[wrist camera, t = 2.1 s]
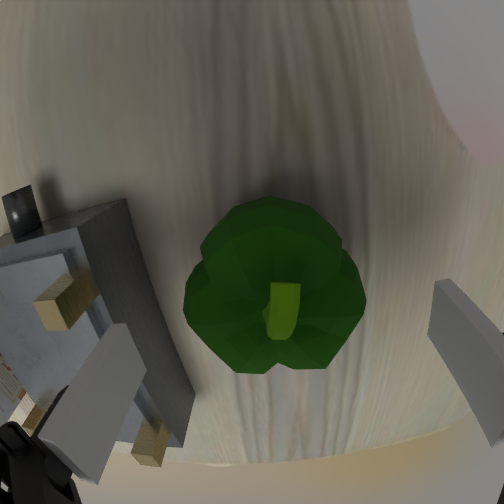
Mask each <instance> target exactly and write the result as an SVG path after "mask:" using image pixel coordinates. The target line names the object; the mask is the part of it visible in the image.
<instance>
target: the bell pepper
mask: <svg viewBox="0 0 504 504" xmlns="http://www.w3.org/2000/svg"><path fill="white" fill-rule="evenodd" d="M200 249H201V253H202V257H203V260H202V261H201V262H199V263H198V264H197V265H196V266H195V268H194V269H193V271H192V273H191V275H190V277H189V278H188V280H187V282H186V287H185V296H184V306H183V312H184V315H185V318H186V320H187V323H188V325H189V326H190V327H191V328H192V329H193V331H194V332H195V333H196V334H197V335H198V336H199V337H200V338H201V340H202V341H203V342H204V343H205V344H206V345H207V346H208V347H209V348H210V349H211V350H212V351H213V352H214V353H215V354H216V355H217V356H218V357H219V358H220V359H222V360H223V361H224V362H225V363H226V364H227V365H228V366H229V367H230V368H231V369H232V370H233V371H235V372H236V373H251V374H264V373H265V372H267V371H268V370H269V369H270V368H272V367H273V366H274V365H275V364H276V363H280V364H282V365H285V366H287V367H290V368H292V369H326V367H327V366H328V365H329V363H330V362H331V361H332V359H333V358H334V357H335V355H336V354H337V353H338V351H339V350H340V348H341V347H342V346H343V344H344V343H345V341H346V340H347V339H348V337H349V336H350V334H351V333H352V331H353V330H354V328H355V327H356V325H357V324H358V322H359V321H360V319H361V317H362V316H363V314H364V310H365V305H366V296H365V293H364V289H363V286H362V282H361V279H360V275H359V272H358V268H357V266H356V265H355V263H354V262H353V260H352V259H351V257H350V256H349V254H348V253H347V252H346V251H345V250H344V249H342V239H341V238H340V236H339V235H338V234H337V232H336V231H335V229H334V228H333V227H332V226H331V225H330V224H329V223H328V222H327V221H326V220H325V219H323V218H322V217H321V216H320V215H319V214H318V213H317V212H316V211H315V210H314V209H312V208H311V207H310V206H308V205H304V204H300V203H296V202H291V201H287V200H283V199H279V198H275V197H270V196H268V197H265V198H261V199H258V200H255V201H252V202H248V203H245V204H242V205H239V206H236V207H233V208H232V209H231V210H230V211H229V212H228V213H227V214H226V215H225V217H224V218H223V219H222V220H221V221H220V222H219V223H218V224H217V225H216V226H215V227H214V228H213V229H212V230H211V231H210V232H209V233H208V235H207V237H206V238H205V240H204V241H203V243H202V245H201V246H200Z"/></svg>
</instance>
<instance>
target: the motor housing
mask: <svg viewBox="0 0 504 504" xmlns="http://www.w3.org/2000/svg"><path fill="white" fill-rule="evenodd" d="M2 201H3V205H4V209H5V212H6V216H7V219H8V222H9V226H10V229H11V233H8V234H5V235H3V236H1V237H0V353H1V354H2V356H3V357H4V359H5V361H6V362H7V364H8V365H9V367H10V369H11V370H12V372H13V373H14V375H15V376H16V378H17V379H18V381H19V382H20V383H21V385H22V386H23V388H24V389H25V391H26V392H27V393H28V395H29V396H30V397H31V399H32V400H33V401H34V403H35V406H34V407H33V409H32V411H31V412H30V414H29V415H28V417H27V418H26V420H25V422H24V423H23V425H22V427H23V428H24V429H25V431H26V432H27V433H28V434H29V435H30V436H32V434H33V432H34V431H35V429H36V427H37V426H38V424H39V422H40V421H41V419H42V418H43V416H44V414H45V413H46V411H47V412H48V408H49V407H50V405H51V404H53V403H52V402H53V400H54V399H55V397H56V396H57V394H58V393H59V392H60V391H61V390H62V389H64V388H65V387H66V386H67V385H70V383H71V382H72V380H73V379H74V377H75V376H76V374H77V373H78V371H79V370H80V368H81V367H82V365H83V364H84V362H85V361H86V359H87V358H88V357H89V355H90V354H91V352H92V351H93V349H94V348H95V346H96V345H97V344H98V342H99V341H100V339H101V338H102V336H103V335H104V334H105V332H106V331H107V329H108V328H109V327H110V325H111V324H117V323H126V325H127V328H128V330H129V332H130V334H131V337H132V339H133V341H134V343H135V346H136V348H137V350H138V352H139V354H140V356H141V358H142V360H143V363H144V365H145V367H146V369H147V371H146V373H145V375H144V377H143V380H142V382H141V384H140V386H139V388H138V391H137V393H136V395H135V397H134V400H133V402H132V404H131V406H130V409H129V411H128V413H127V416H126V418H125V420H124V422H123V425H122V427H121V429H120V432H119V434H118V437H117V439H116V441H122V442H129V443H134V445H133V448H132V451H131V454H132V455H133V457H134V458H135V459H136V460H137V461H138V462H139V463H140V464H141V465H147V466H155V467H161V464H162V461H163V458H164V454H165V450H166V447H180V448H183V444H184V440H185V436H186V431H187V427H188V423H189V419H190V415H191V411H192V407H193V403H194V398H195V393H194V391H193V388H192V386H191V384H190V382H189V379H188V377H187V375H186V373H185V370H184V368H183V366H182V363H181V361H180V358H179V356H178V354H177V351H176V349H175V346H174V344H173V341H172V339H171V336H170V334H169V331H168V328H167V326H166V323H165V321H164V318H163V315H162V313H161V310H160V307H159V304H158V302H157V299H156V296H155V293H154V290H153V287H152V284H151V282H150V279H149V276H148V273H147V270H146V266H145V263H144V260H143V257H142V254H141V251H140V247H139V244H138V241H137V238H136V234H135V231H134V227H133V224H132V220H131V217H130V213H129V209H128V206H127V202H126V198H125V199H121V200H117V201H113V202H110V203H106V204H102V205H98V206H95V207H91V208H87V209H84V210H80V211H77V212H73V213H70V214H67V215H63V216H60V217H57V218H53V219H50V220H47V221H44V222H41V220H40V216H39V213H38V209H37V206H36V202H35V199H34V195H33V191H32V187H31V185H29V186H26V187H23V188H21V189H18V190H16V191H14V192H11V193H9V194H7V195H5V196H3V197H2Z"/></svg>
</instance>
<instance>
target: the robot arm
mask: <svg viewBox="0 0 504 504" xmlns="http://www.w3.org/2000/svg"><path fill="white" fill-rule="evenodd" d="M427 335H428V337H429V338H430V340H431V341H432V343H433V344H434V346H435V347H436V349H437V351H438V352H439V354H440V355H441V357H442V359H443V360H444V362H445V363H446V365H447V367H448V368H449V370H450V372H451V373H452V375H453V377H454V378H455V380H456V382H457V384H458V385H459V387H460V389H461V391H462V392H463V394H464V396H465V398H466V399H467V401H468V403H469V405H470V407H471V408H472V410H473V412H474V414H475V416H476V418H477V420H478V422H479V424H480V426H481V427H482V429H483V431H484V433H485V435H486V437H487V439H488V441H489V443H490V446H491V447H494V446H496V445H498V444H500V443H502V442H504V333H501V332H500V331H499V329H498V328H497V327H496V326H495V325H494V324H493V323H492V322H491V321H490V319H489V318H488V317H487V316H486V315H485V314H484V313H483V312H482V311H481V310H480V309H479V308H478V307H477V306H476V305H475V303H474V302H473V301H472V300H471V299H470V298H469V297H468V296H467V295H466V294H465V293H464V292H463V291H462V290H461V289H460V288H459V287H458V286H457V285H456V284H455V283H454V282H453V281H452V280H451V279H450V278H449V279H445V280H440V281H435V284H434V293H433V301H432V309H431V316H430V322H429V328H428V334H427ZM146 371H147V369H146V367H145V365H144V363H143V360H142V358H141V356H140V354H139V352H138V350H137V348H136V346H135V343H134V341H133V339H132V337H131V334H130V332H129V330H128V328H127V325H126V323H117V324H111V325H110V327H109V328H108V329H107V331H106V332H105V334H104V335H103V336H102V338H101V339H100V341H99V342H98V344H97V345H96V346H95V348H94V349H93V351H92V352H91V354H90V355H89V357H88V358H87V359H86V361H85V362H84V364H83V365H82V367H81V368H80V370H79V371H78V373H77V374H76V376H75V377H74V379H73V380H72V382H71V383H70V385H67V386H66V387H65V388H64V389H62V390H61V391H60V392H59V393H58V394H57V396H56V397H55V399H54V400H53V402H52V403H53V404H51V405H50V407H49V408H48V412H47V411H46V413H45V414H44V416H43V418H42V419H41V421H40V422H39V424H38V426H37V427H36V429H35V431H34V432H33V434H32V436H31V437H29V435H28V434H27V433H26V432H25V431H24V430H23V429H22V427H21V426H20V425H19V424H18V423H17V422H14V421H10V422H6V423H5V424H3V425H2V426H1V427H0V504H82V503H81V500H80V497H79V494H78V491H77V488H76V485H75V483H74V481H73V479H71V475H72V473H74V474H75V475H76V476H77V477H79V478H80V479H81V480H82V481H86V482H89V483H92V484H96V485H98V483H99V480H100V478H101V475H102V473H103V470H104V468H105V465H106V463H107V460H108V458H109V456H110V453H111V451H112V448H113V446H114V444H115V441H116V439H117V437H118V434H119V432H120V429H121V427H122V425H123V422H124V420H125V418H126V416H127V413H128V411H129V409H130V406H131V404H132V402H133V400H134V397H135V395H136V393H137V391H138V388H139V386H140V384H141V382H142V380H143V377H144V375H145V373H146ZM1 481H2V482H3V483H4V484H5V485H6V486H8V492H6V491H5V490H3V489H2V488H1ZM497 504H504V485H503V488H502V491H501V494H500V497H499V500H498V502H497Z"/></svg>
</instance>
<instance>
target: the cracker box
mask: <svg viewBox="0 0 504 504" xmlns="http://www.w3.org/2000/svg"><path fill="white" fill-rule="evenodd" d="M25 394H26V391H25V389H24V388H23V386H22V385H21V383H20V382H19V381H18V379H17V378H16V376H15V375H14V373H13V372H12V370H11V369H10V367H9V365H8V364H7V362H6V361H5V359H4V357H3V356H2V354H1V353H0V427H1V426H2V425H3V424H5V423H6V422H7V421H8V419H9V418H10V416H11V415H12V413H13V412H14V410H15V409H16V407H17V406H18V404H19V403H20V401H21V400H22V398H23V397H24V395H25Z"/></svg>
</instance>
